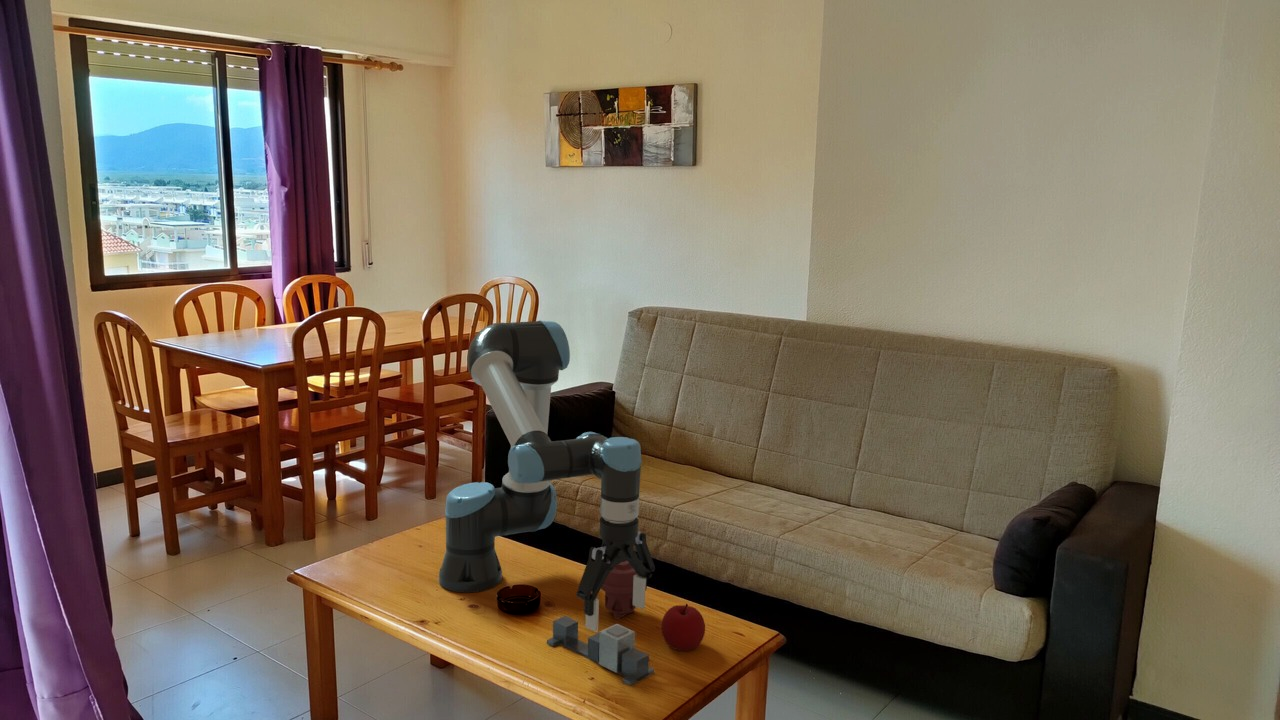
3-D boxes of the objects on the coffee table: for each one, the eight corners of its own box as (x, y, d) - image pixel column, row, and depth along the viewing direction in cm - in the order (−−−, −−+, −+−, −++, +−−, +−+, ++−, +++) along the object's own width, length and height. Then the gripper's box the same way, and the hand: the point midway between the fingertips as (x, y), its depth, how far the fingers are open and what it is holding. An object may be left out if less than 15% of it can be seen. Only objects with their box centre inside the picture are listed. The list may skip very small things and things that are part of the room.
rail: (546, 643, 191) (546, 623, 190) (570, 632, 196) (571, 613, 195) (630, 686, 175) (630, 664, 174) (654, 672, 180) (654, 651, 179)
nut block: (598, 664, 182) (599, 630, 181) (616, 655, 186) (617, 622, 184) (616, 673, 179) (617, 638, 177) (634, 664, 182) (635, 630, 181)
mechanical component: (645, 606, 210) (637, 625, 200) (603, 601, 212) (593, 620, 202) (647, 555, 208) (638, 572, 198) (605, 551, 209) (594, 567, 200)
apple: (702, 636, 196) (704, 593, 194) (706, 657, 187) (708, 612, 185) (659, 635, 196) (661, 592, 194) (661, 656, 187) (663, 611, 185)
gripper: (587, 539, 165) (584, 646, 169) (675, 506, 183) (670, 604, 188) (559, 527, 170) (556, 631, 174) (647, 497, 188) (643, 592, 192)
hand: (615, 617), depth 181 cm, fingers open, 13 cm apart
